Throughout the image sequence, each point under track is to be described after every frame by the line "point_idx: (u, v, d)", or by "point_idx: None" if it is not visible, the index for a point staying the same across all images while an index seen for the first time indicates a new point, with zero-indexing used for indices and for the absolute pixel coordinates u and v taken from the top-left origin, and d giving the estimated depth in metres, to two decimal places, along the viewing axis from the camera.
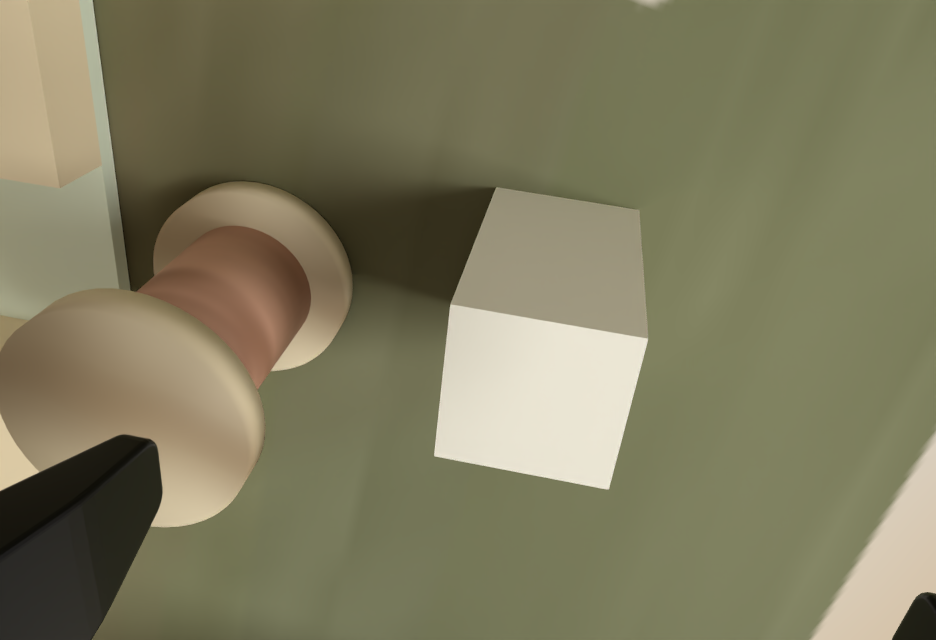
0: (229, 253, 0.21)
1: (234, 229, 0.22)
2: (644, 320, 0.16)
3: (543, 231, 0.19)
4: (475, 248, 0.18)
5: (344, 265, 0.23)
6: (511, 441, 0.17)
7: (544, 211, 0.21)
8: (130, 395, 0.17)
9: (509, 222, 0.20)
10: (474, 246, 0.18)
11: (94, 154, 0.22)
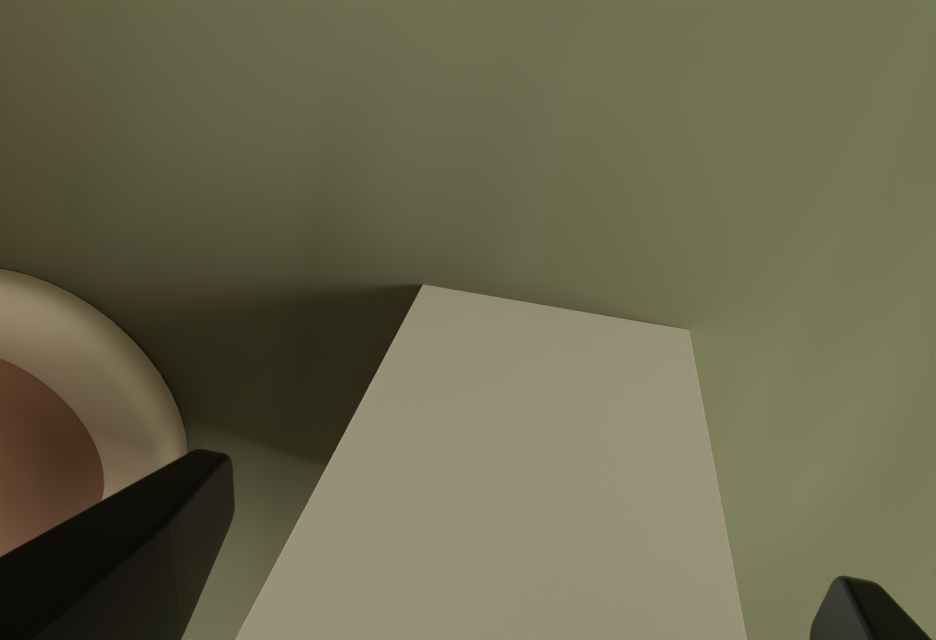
0: None
1: None
2: None
3: (501, 393, 0.09)
4: (343, 449, 0.08)
5: (161, 415, 0.13)
6: None
7: (509, 340, 0.11)
8: None
9: (434, 371, 0.10)
10: (342, 443, 0.08)
11: None
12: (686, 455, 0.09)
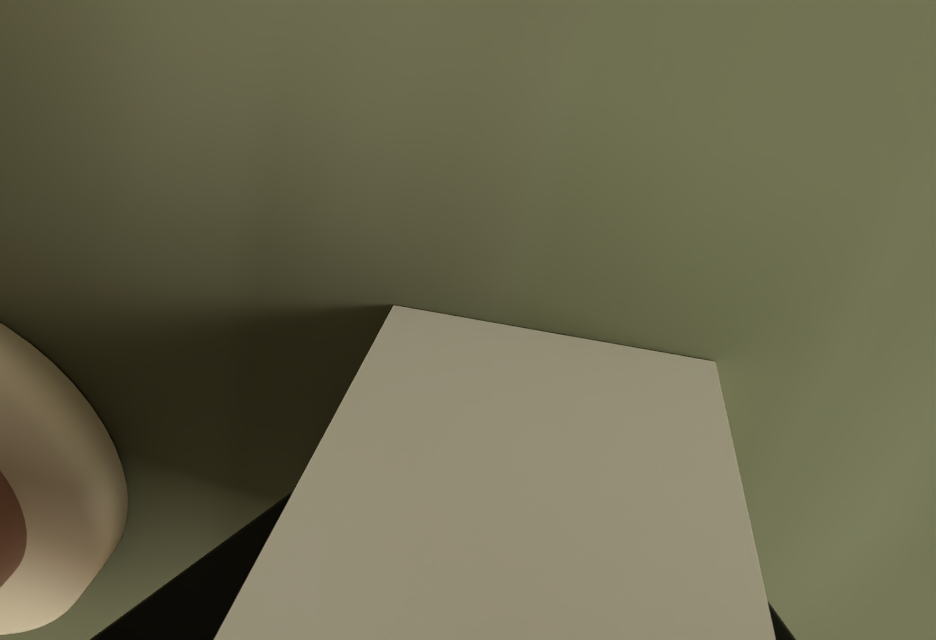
0: None
1: None
2: None
3: (484, 457, 0.07)
4: (272, 549, 0.06)
5: (90, 453, 0.11)
6: None
7: (496, 381, 0.09)
8: None
9: (400, 426, 0.08)
10: (272, 539, 0.06)
11: None
12: (722, 546, 0.07)
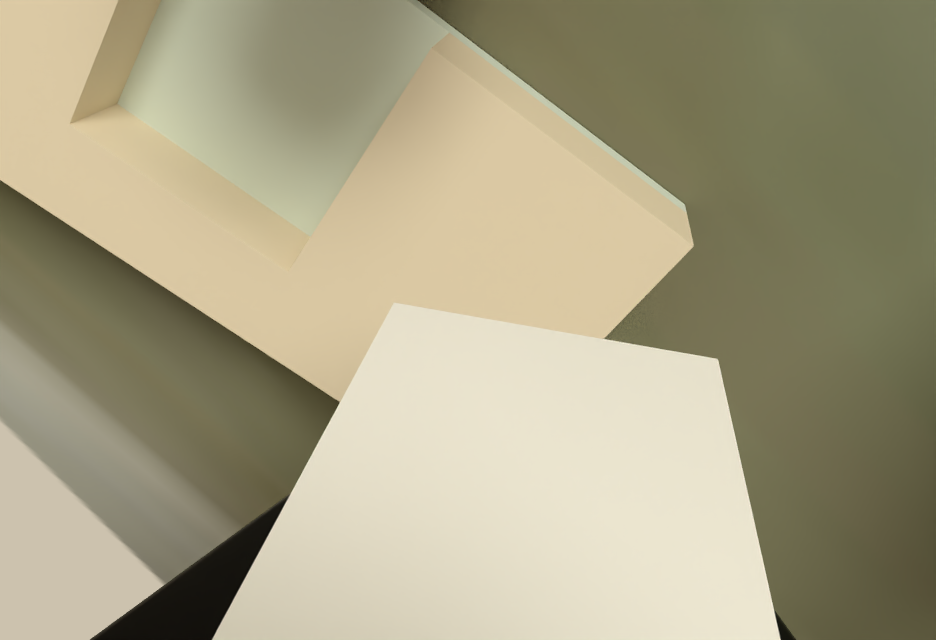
0: None
1: None
2: None
3: (486, 454, 0.07)
4: (271, 547, 0.06)
5: None
6: None
7: (496, 377, 0.08)
8: None
9: (401, 423, 0.08)
10: (271, 537, 0.06)
11: None
12: (725, 544, 0.07)
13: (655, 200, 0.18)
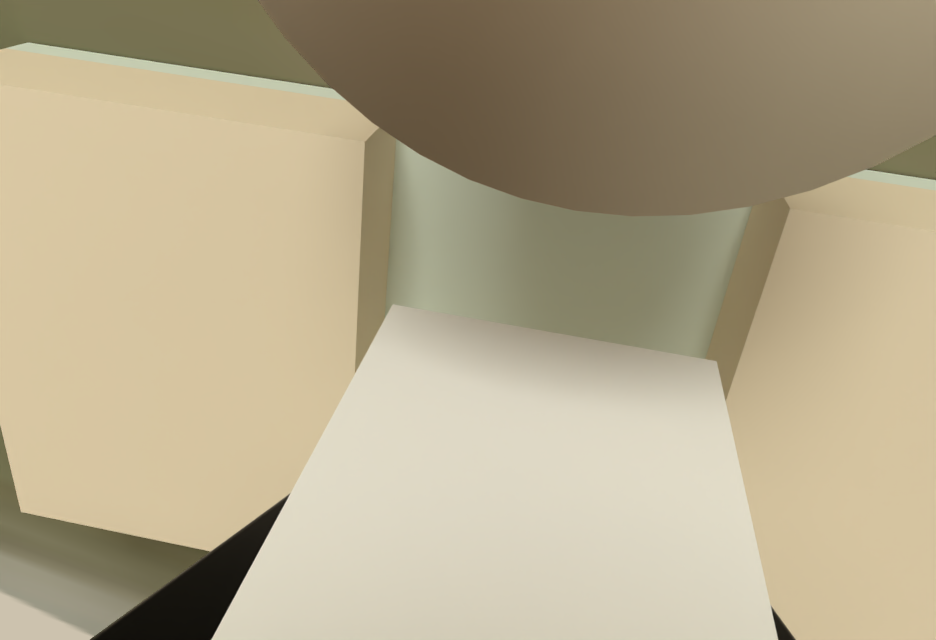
0: None
1: None
2: None
3: (483, 458, 0.07)
4: (269, 550, 0.06)
5: None
6: None
7: (495, 379, 0.08)
8: None
9: (399, 426, 0.08)
10: (269, 541, 0.06)
11: None
12: (723, 547, 0.07)
13: None
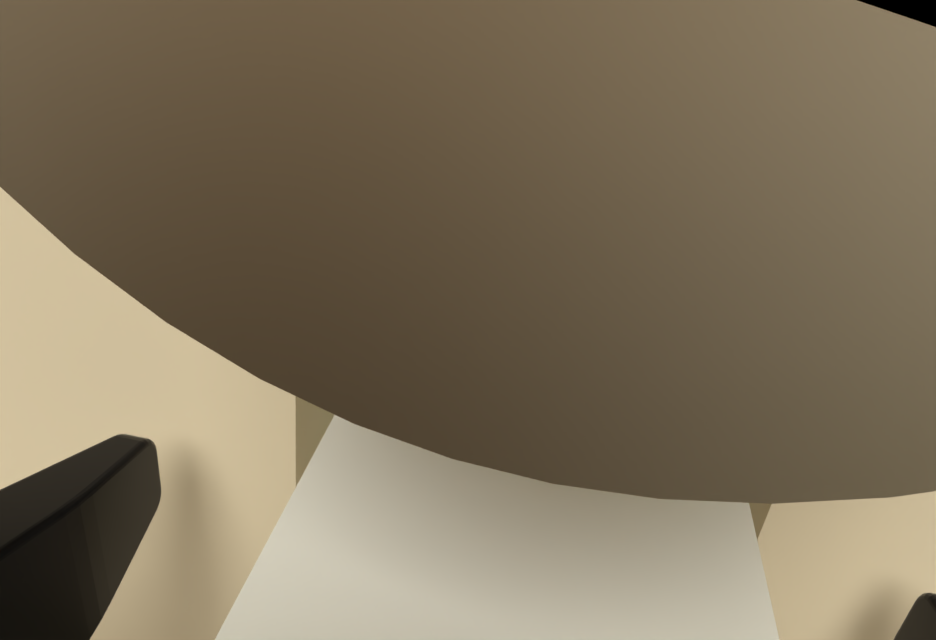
0: None
1: None
2: None
3: None
4: (327, 444, 0.07)
5: None
6: None
7: None
8: None
9: None
10: (326, 437, 0.07)
11: None
12: None
13: None
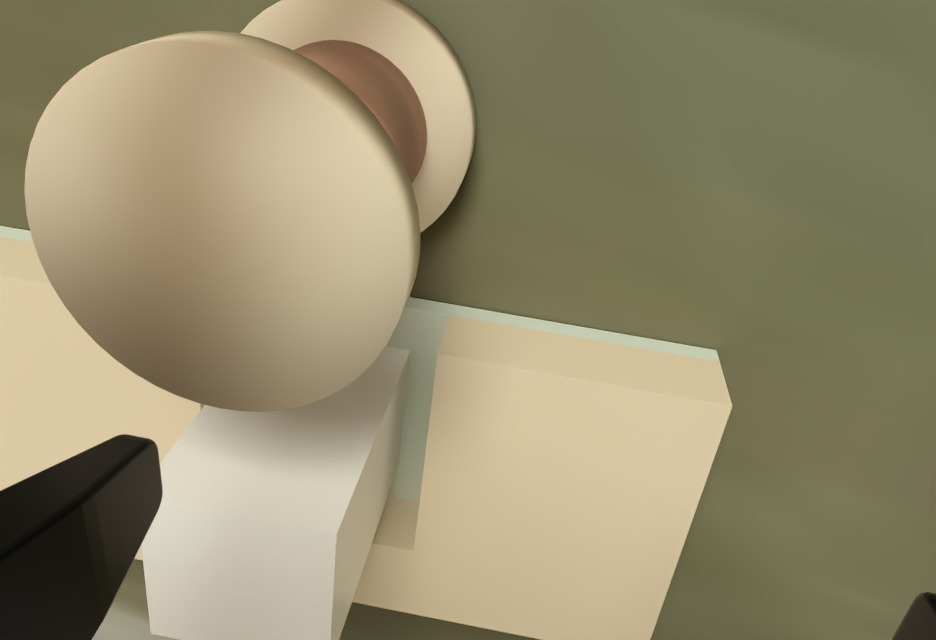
0: None
1: None
2: (343, 507, 0.15)
3: None
4: (202, 412, 0.18)
5: None
6: (223, 623, 0.17)
7: None
8: (151, 216, 0.12)
9: None
10: (202, 410, 0.18)
11: None
12: (370, 415, 0.18)
13: (683, 372, 0.19)
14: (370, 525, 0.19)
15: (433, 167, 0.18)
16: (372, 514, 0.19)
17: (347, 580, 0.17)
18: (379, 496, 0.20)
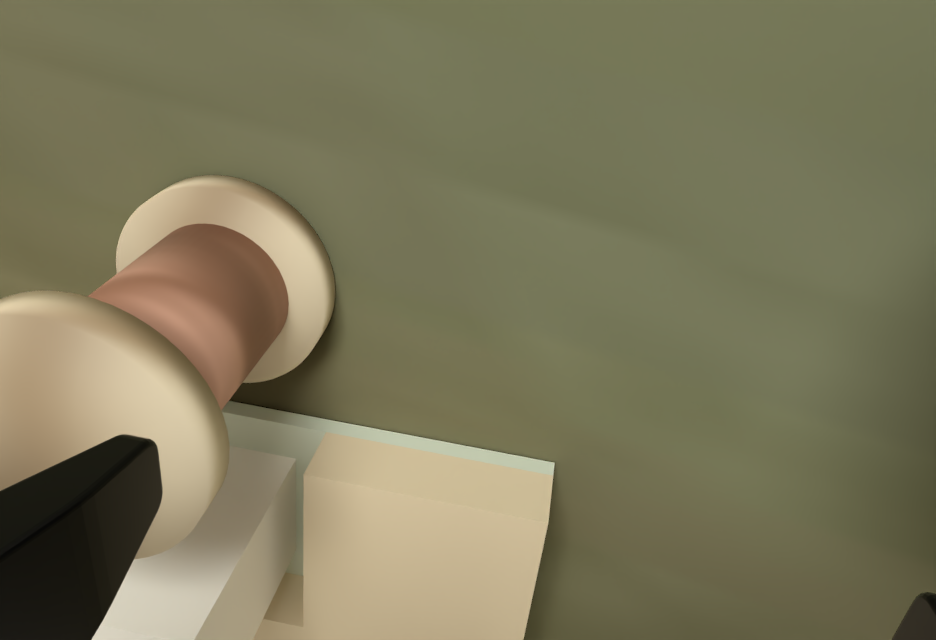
0: None
1: None
2: (202, 619, 0.19)
3: None
4: None
5: (186, 182, 0.21)
6: None
7: None
8: (14, 426, 0.15)
9: None
10: None
11: None
12: (245, 527, 0.22)
13: (516, 487, 0.22)
14: (253, 614, 0.23)
15: (296, 321, 0.21)
16: (254, 605, 0.23)
17: None
18: (264, 587, 0.24)
